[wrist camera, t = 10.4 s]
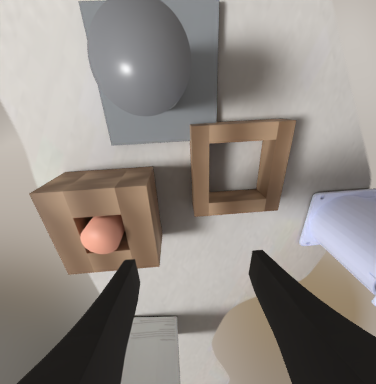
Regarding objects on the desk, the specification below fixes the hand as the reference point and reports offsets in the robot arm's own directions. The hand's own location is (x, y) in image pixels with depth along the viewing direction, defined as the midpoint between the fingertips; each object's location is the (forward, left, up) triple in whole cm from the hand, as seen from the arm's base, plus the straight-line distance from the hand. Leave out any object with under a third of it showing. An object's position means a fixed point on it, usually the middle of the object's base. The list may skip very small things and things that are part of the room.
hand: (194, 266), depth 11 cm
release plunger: (+8, +1, -10) cm, 12 cm away
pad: (+2, -11, -10) cm, 15 cm away
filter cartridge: (+2, -11, -10) cm, 15 cm away
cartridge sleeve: (-5, -3, -10) cm, 12 cm away
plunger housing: (+8, +1, -10) cm, 13 cm away
